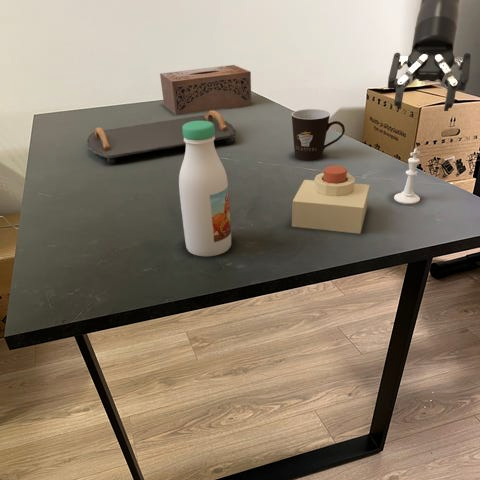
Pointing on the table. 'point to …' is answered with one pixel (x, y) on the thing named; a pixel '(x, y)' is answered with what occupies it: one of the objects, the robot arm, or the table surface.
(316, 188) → the button base
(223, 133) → the serving tray
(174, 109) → the tissue box cover
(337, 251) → the table surface
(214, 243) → the milk bottle
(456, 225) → the table surface
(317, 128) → the coffee mug
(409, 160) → the chess piece
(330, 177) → the lid button
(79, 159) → the table surface
